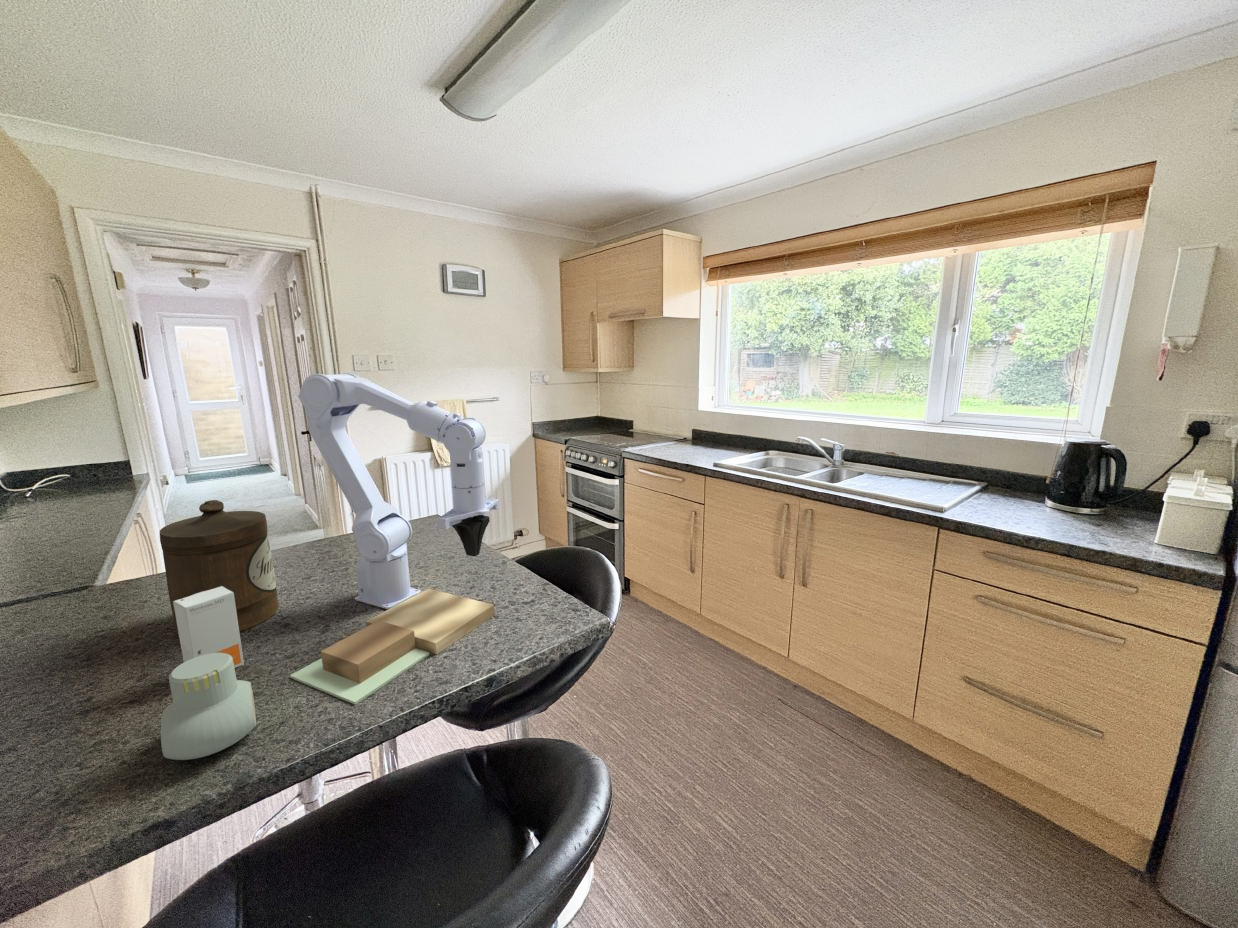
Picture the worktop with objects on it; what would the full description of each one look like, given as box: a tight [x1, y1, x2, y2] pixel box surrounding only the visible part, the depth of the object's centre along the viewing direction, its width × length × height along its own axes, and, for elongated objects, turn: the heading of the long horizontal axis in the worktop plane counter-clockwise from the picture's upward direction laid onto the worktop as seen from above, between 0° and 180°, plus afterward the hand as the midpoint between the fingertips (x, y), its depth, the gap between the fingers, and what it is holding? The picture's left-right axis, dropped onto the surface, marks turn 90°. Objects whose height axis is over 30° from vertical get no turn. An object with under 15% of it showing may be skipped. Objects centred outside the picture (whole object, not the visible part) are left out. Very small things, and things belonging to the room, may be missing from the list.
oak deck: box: [365, 588, 496, 656], centre depth 88 cm, size 16×14×2 cm
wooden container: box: [159, 499, 279, 636], centre depth 88 cm, size 15×15×22 cm
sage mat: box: [289, 648, 431, 706], centre depth 75 cm, size 14×13×1 cm
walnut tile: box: [320, 620, 416, 683], centre depth 76 cm, size 8×10×3 cm
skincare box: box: [173, 586, 245, 669], centre depth 74 cm, size 6×4×12 cm
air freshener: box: [160, 653, 257, 761], centre depth 60 cm, size 11×8×10 cm
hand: (472, 554), depth 95 cm, fingers closed
